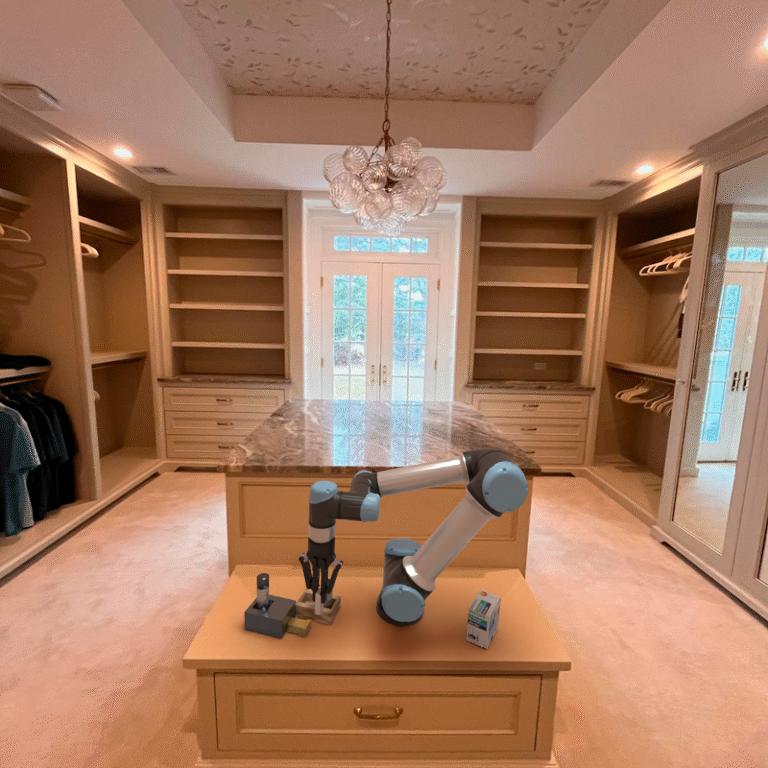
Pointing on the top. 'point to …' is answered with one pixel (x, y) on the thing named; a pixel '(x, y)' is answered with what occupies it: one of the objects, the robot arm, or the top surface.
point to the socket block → (270, 617)
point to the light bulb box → (483, 618)
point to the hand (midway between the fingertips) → (319, 611)
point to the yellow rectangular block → (298, 626)
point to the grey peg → (263, 591)
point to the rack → (307, 607)
